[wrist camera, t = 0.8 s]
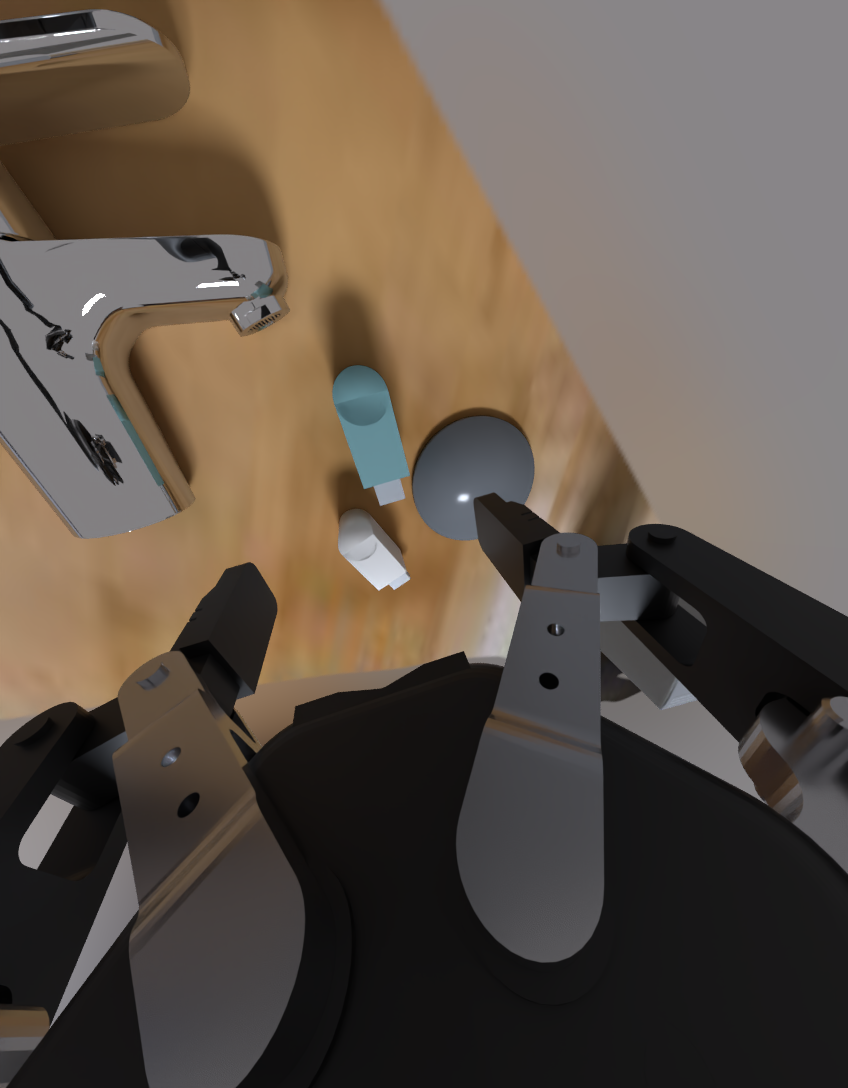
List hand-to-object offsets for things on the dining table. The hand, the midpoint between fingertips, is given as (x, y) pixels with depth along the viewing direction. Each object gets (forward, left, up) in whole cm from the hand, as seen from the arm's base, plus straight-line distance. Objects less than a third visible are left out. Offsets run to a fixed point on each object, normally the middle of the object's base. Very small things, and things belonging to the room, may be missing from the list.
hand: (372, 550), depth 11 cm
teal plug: (-1, +1, -17) cm, 17 cm away
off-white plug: (+9, -2, -17) cm, 20 cm away
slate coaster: (+6, +9, -17) cm, 21 cm away
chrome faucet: (-10, -10, -18) cm, 22 cm away
